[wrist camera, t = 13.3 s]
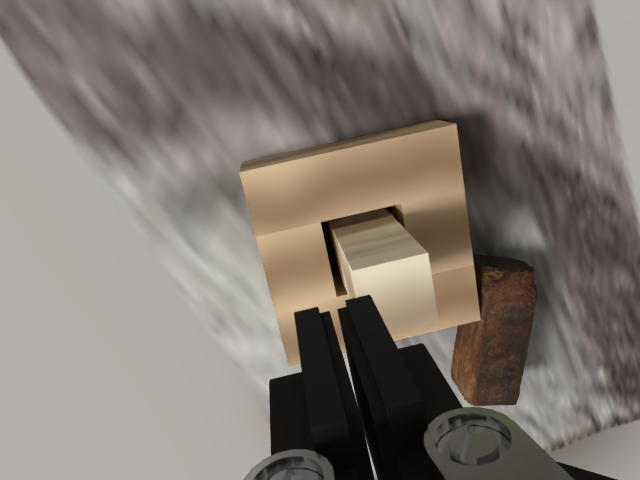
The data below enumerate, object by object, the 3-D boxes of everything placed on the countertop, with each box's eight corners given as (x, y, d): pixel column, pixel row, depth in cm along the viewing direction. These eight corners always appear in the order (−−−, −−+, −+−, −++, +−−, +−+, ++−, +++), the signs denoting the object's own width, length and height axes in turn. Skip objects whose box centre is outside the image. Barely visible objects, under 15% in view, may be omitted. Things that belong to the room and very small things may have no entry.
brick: (493, 375, 44) (520, 408, 40) (447, 375, 44) (469, 408, 39) (514, 253, 41) (545, 274, 37) (465, 252, 41) (491, 273, 36)
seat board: (241, 162, 37) (239, 172, 33) (436, 119, 37) (456, 123, 33) (286, 339, 41) (288, 365, 37) (460, 298, 41) (480, 320, 38)
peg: (324, 213, 38) (351, 270, 27) (379, 201, 39) (428, 251, 27) (335, 265, 40) (365, 340, 28) (388, 253, 40) (439, 322, 28)
